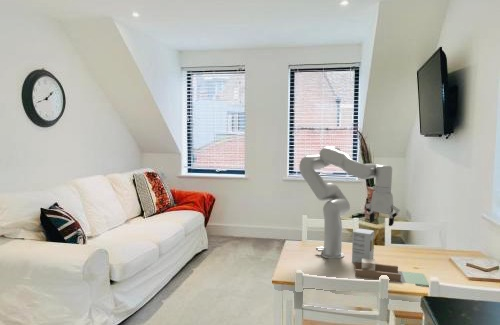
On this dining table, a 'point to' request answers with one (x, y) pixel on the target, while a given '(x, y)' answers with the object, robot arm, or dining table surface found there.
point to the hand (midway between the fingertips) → (381, 223)
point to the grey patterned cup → (368, 264)
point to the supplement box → (362, 245)
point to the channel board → (391, 274)
